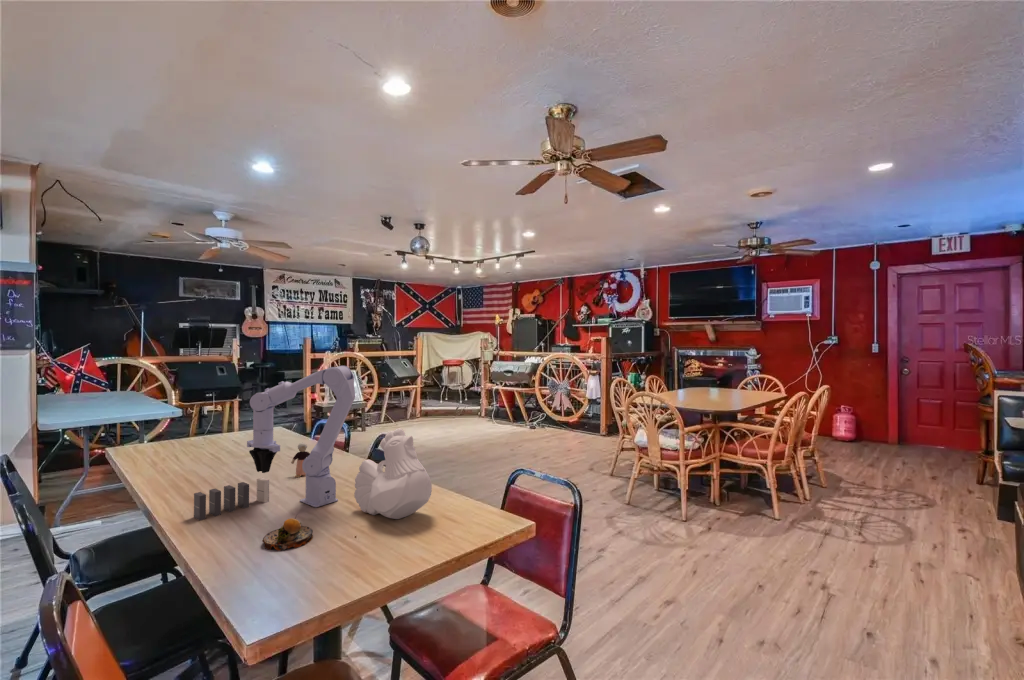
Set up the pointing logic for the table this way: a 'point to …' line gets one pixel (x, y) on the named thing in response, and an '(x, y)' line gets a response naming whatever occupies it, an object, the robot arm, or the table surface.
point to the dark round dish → (288, 536)
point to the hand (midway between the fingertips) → (263, 471)
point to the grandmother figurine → (300, 459)
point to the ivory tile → (263, 490)
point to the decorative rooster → (393, 480)
